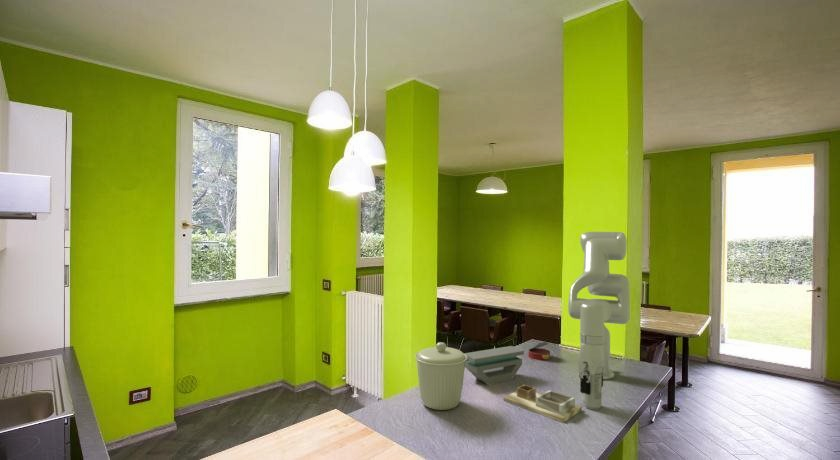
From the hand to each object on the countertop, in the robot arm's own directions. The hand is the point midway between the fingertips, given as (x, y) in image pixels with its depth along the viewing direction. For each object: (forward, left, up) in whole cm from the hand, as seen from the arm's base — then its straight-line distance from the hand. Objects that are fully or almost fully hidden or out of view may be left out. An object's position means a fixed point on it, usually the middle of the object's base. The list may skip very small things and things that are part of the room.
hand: (591, 389), depth 135 cm
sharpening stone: (+4, -38, -6) cm, 39 cm away
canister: (+37, -36, -6) cm, 52 cm away
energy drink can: (0, 0, -6) cm, 6 cm away
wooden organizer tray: (+12, -12, -6) cm, 18 cm away
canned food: (-36, -41, -6) cm, 55 cm away
